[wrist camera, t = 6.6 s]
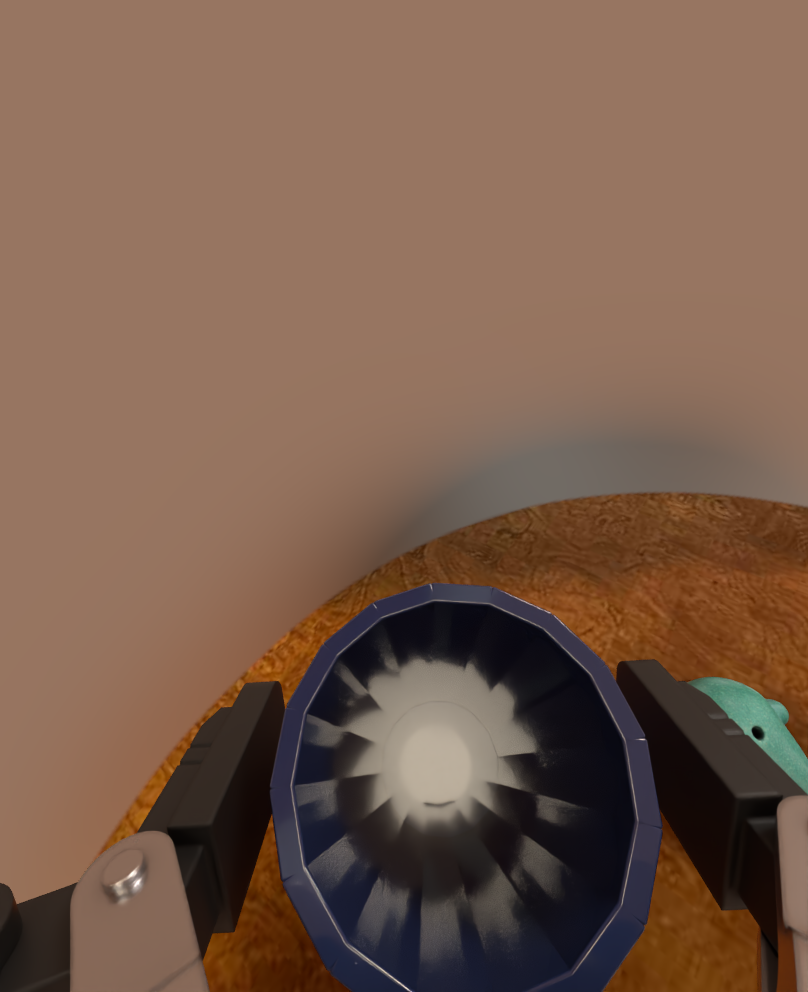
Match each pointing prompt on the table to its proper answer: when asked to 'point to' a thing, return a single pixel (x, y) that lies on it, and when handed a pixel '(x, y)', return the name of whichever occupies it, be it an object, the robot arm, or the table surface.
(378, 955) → the cup
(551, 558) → the table surface
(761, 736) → the whale figurine
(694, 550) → the table surface
